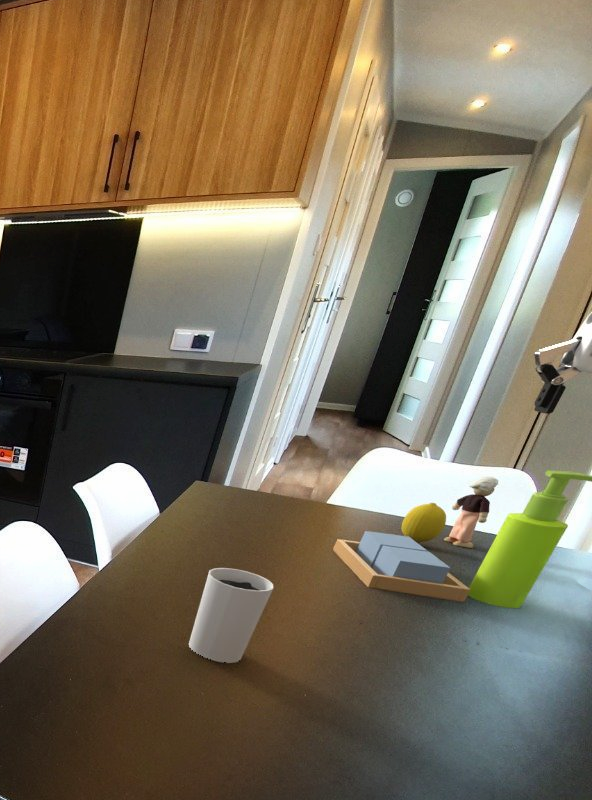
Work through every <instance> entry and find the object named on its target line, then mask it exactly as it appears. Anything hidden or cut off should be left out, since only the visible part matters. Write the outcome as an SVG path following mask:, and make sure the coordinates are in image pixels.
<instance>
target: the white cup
mask: <svg viewBox="0 0 592 800" xmlns="http://www.w3.org/2000/svg"><path fill="white" fill-rule="evenodd" d="M273 590H274V583H272V582H271V580H269V579H268V578H265V577H264V576H261V575H259V574H256V573H253V572H249V571H246V570H241V569H238V568H228V567H217V568H216V567H215V568H212V569H210V570H208V575H207V578H206V581H205V585H204V588H203V592H202V596H201V599H200V602H199V606H198V608H197V613H196V616H195V620H194V623H193V627H192V631H191V634H190V638H189V641H188V645H189V646H188V647H189V649H190V648H191V649H190V650H191V651H192V650H193V651H192V652H194V653H195V652H196V653H195V654H196V655H198V654H199V655H198V656H200V655H201V656H200V657H202V656H203V658H205V659H207V658H208V659H207V660H210V659H211V660H210V661H214V662H218V663H224V662H226V663H225V664H233V663H235V664H236V663H238V662H240V661H241V660H242V658H243V655H244V653H245V652H246V649H247V647H248V645H249V642H250V640H251V638H252V636H253V634H254V632H255V630H256V627H257V625H258V623H259V621H260V618H261V616H262V614H263V612H264V610H265V608H266V606H267V604H268V601H269V599H270V597H271V595H272V592H273ZM239 660H240V661H239Z"/></svg>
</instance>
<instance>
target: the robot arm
mask: <svg viewBox="0 0 592 800" xmlns="http://www.w3.org/2000/svg"><path fill="white" fill-rule="evenodd" d="M562 354H563V356H562V358H561V359H560V360H561V361H560V366H559V367H557V368H555V366H554V365H553V358H555V357H556V356H559V355H562ZM533 356H534V363H535V372H536V374H538V376H539V377H540V379H541V383H543V385H542V387H541V389H540V391H539V393H538V396H537V397H536V399H535V401H534V408H533V410H534V412H537V413H541V414H548V415H550V414H552V413H554V411H555V409H556V408H557V406H558V404H559V402H560V399H561V398H562V396H563V394H564V393H565V390H566V388H567V387H566V385H564V383H565V382H567V381H569V380H571V379H572V378H574V377H575V376H577V375H579V374H581V373H586V374H592V310H591V311H590V313H589V314H588V315H587V317H586V318H585V319H584V321H583V322H582V324H581V325H580V327H578V330H577V332H576V333H575V335H574V336H573V338H572V339H571V340H568V341H564V342H561V343H558V344H555V345H552V346H547V347H545V348H541V349H539V350H536V351H535V352H534V354H533Z"/></svg>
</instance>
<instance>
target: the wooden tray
mask: <svg viewBox="0 0 592 800" xmlns="http://www.w3.org/2000/svg"><path fill="white" fill-rule="evenodd" d="M360 542H361V541H355V540H347V539H340V538H337V539H336V541H335V544H334V545H333V549H332V551H333V552H334V553H335V554H336V555H337V556H338V557H339V558H340V559H341V560H342V561H343V562H344V564H346V565H347V567H348V568H349V569H350V570H351V571H352V572H353V573H354V574H355V575H356V576H357V578H359V580H360V581H362V583H363V584H364V585H366V587H367V588H371V589H378V590H385V591H391V592H396V593H403V594H410V595H415V596H416V595H417V596H422V597H429V598H436V599H441V600H442V599H443V600H449V601H455V602H460V603H465V602H466V599H467V598H468V594H469V592H470V589H469V586H467V585H465V584H464V583H463V582H462V581H460V580H459V579H457V578H456V577H455V576H454V575H453V574H451V573H449V572H448V574H447V576H446V578H445V579H444V581H443V583H442V584H439V583H433V582H426V581H419V580H413V579H406V578H399V577H393V576H386V575H379V574H377V573H376V572H375V571H374V570H373V569H372V568H371V567H370V566H369V565H368V564H367V563H366V562H365V561H364V560H363V559H362V558H361V557H360V556H359V555H358V554H357V553H356V551H357V548H358V546H359V544H360Z"/></svg>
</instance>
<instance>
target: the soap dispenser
mask: <svg viewBox="0 0 592 800" xmlns="http://www.w3.org/2000/svg"><path fill="white" fill-rule="evenodd" d="M544 475H545V476H547V477H548V478H550V479H549V481H548V483H547V484H546V487H545V488H544V490H541V491H537V492H534V493H532V495H531V497H530V498H529V500H528V502H527V504H526V506H525V507H524V509H523V511H522V512H513V513H508V514H507V516H506V517H505V520H504V521H503V523H502V525H501V527H500V528H499V531H498V532H497V533H496V536H495V539H494V540H493V542H492V543H491V546H490V547H489V549H488V551H487V553H486V555H485V557H484V558H483V560H482V562H481V564H480V566H479V567H478V570H477V572H476V573H475V575H474V577H473V579H472V581H471V583H470V584H469V586H468V588H469V589H470V592H469V594H468V595H467V597H469V598H471V599H473V600H476V601H478V602H481V603H483V604H488V605H491V606H495V607H500V608H506V609H520V608H521V607H522V605H523V604H524V602H525V600H526V599H527V597H528V595H529V593H530V592H531V590H532V589H533V587H534V585H535V583H536V581H537V580H538V578H539V576H540V575H541V573H542V571H543V570H544V568H545V566H546V565H547V563H548V561H549V559H550V557H551V556H552V554H553V553H554V551H555V550H556V547H557V546H558V544H559V542H560V541H561V539H562V538H563V535H564V534H565V532H566V530H567V529H568V527H569V525H568V524H567V523H565V522H563V521H561V520H559V517H560V515H561V514H562V512H563V510H564V509H565V506H566V505H567V503H568V501H569V497H566V496H565V494H563V493H564V492H565V489H566V487H567V486H568V484H569V483H570V481H571V480H576V481H587V482H590V483H591V482H592V475H591V474H587V473H582V472H576V471H565V470H546V471H545V473H544Z"/></svg>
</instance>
